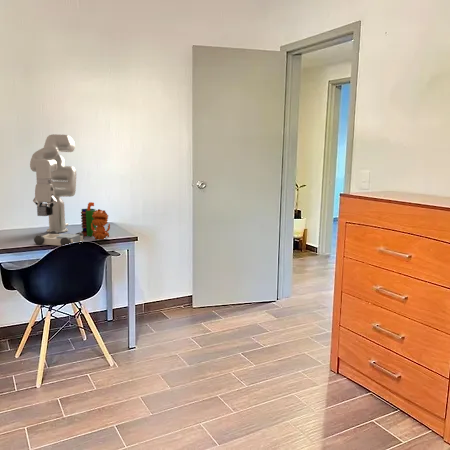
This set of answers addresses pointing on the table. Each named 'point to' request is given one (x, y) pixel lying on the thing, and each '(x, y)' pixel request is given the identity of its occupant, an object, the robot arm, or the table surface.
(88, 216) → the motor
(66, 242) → the chassis
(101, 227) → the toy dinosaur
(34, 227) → the table surface
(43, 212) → the engine block
